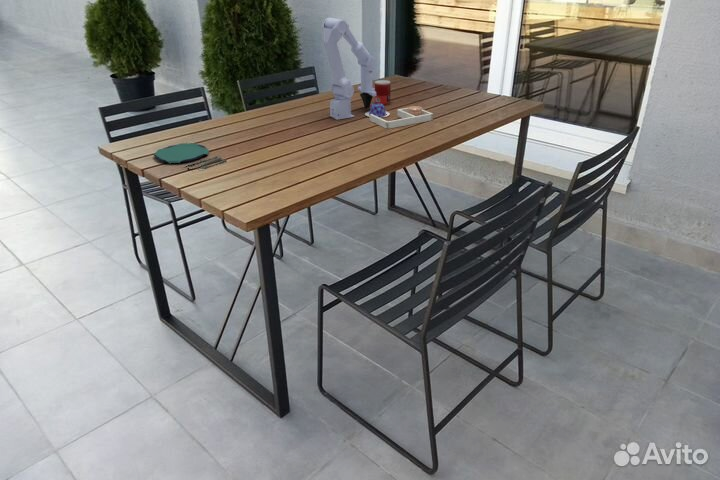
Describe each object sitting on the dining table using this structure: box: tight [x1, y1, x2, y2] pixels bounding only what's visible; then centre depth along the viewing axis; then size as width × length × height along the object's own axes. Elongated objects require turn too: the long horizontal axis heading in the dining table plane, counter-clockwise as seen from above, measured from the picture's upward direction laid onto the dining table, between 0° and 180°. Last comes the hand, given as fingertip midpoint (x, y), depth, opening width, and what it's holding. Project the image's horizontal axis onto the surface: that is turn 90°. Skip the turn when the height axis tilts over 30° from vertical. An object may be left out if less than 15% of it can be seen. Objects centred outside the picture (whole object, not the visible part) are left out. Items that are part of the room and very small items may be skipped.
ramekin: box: [407, 105, 423, 116], centre depth 254 cm, size 7×7×5 cm
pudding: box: [364, 103, 390, 119], centre depth 260 cm, size 12×12×5 cm
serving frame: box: [369, 107, 434, 130], centre depth 252 cm, size 25×15×3 cm, turn 119°
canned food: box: [374, 79, 392, 106], centre depth 277 cm, size 8×8×11 cm
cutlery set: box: [153, 142, 228, 170], centre depth 212 cm, size 20×30×2 cm, turn 45°
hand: (367, 108), depth 268 cm, fingers closed
